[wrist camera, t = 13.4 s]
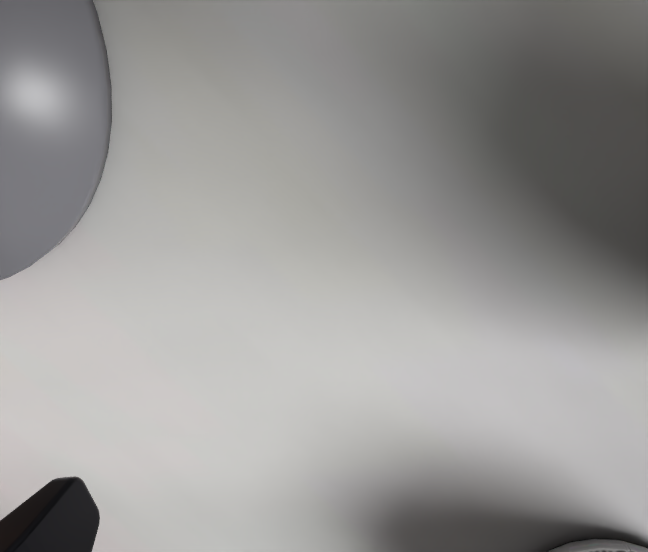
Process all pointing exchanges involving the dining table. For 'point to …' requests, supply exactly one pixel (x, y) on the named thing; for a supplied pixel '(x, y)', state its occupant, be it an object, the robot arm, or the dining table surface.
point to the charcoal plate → (49, 123)
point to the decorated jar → (600, 546)
